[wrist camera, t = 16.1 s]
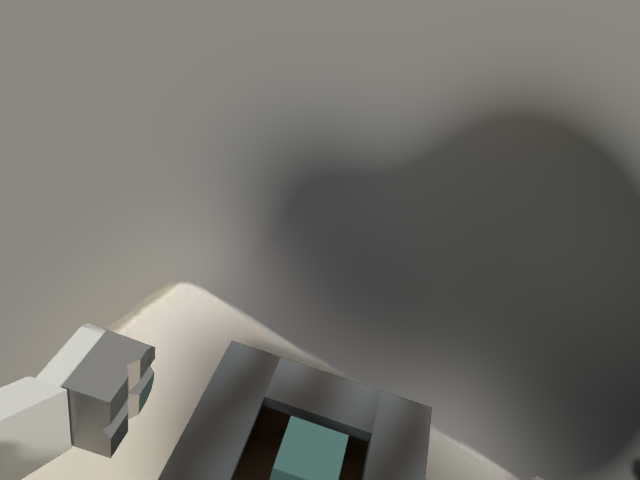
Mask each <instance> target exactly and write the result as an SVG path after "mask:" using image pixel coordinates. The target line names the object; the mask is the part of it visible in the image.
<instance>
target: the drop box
mask: <svg viewBox="0 0 640 480" xmlns="http://www.w3.org/2000/svg"><path fill="white" fill-rule="evenodd" d="M431 410H432V408H431V407H429V406H426V405H423V404H420V403H417V402H414V401H411V400H407V399H405V398H402V397H399V396H396V395H393V394H390V393H387V392H384V391H381V390H378V389H375V388H372V387H369V386H366V385H363V384H360V383H357V382H354V381H351V380H348V379H345V378H342V377H339V376H336V375H333V374H330V373H327V372H324V371H321V370H318V369H315V368H312V367H309V366H306V365H303V364H300V363H298V362H295V361H292V360H289V359H286V358H283V357H280V356H277V355H274V354H271V353H268V352H265V351H262V350H259V349H256V348H253V347H250V346H247V345H244V344H241V343H238V342H235V341H231V343H230V345H229V347H228V349H227V351H226V352H225V354H224V356H223V358H222V360H221V362H220V364H219V366H218V368H217V369H216V371H215V373H214V375H213V377H212V379H211V381H210V383H209V384H208V386H207V388H206V390H205V392H204V394H203V396H202V398H201V400H200V401H199V403H198V405H197V407H196V409H195V411H194V413H193V415H192V417H191V418H190V420H189V422H188V424H187V426H186V428H185V430H184V432H183V433H182V435H181V437H180V439H179V441H178V443H177V445H176V447H175V449H174V450H173V452H172V454H171V456H170V458H169V460H168V462H167V464H166V466H165V467H164V469H163V471H162V473H161V475H160V477H159V479H158V480H270V476H271V473H272V469H273V466H274V463H275V460H276V457H277V454H278V452H279V449H280V446H281V443H282V440H283V437H284V434H285V432H286V429H287V426H288V423H289V420H290V417H291V416H294V417H297V418H300V419H302V420H305V421H308V422H311V423H314V424H317V425H320V426H323V427H326V428H329V429H332V430H335V431H338V432H340V433H343V434H346V435H349V437H348V441H347V445H346V449H345V454H344V458H343V462H342V466H341V471H340V475H339V479H338V480H425V475H426V464H427V454H428V443H429V432H430V422H431Z"/></svg>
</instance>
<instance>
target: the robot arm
mask: <svg viewBox="0 0 640 480" xmlns="http://www.w3.org/2000/svg"><path fill="white" fill-rule="evenodd" d="M154 359H155V347H153V346H150V345H147V344H145V343H142V342H139V341H136V340H134V339H131V338H128V337H126V336H123V335H120V334H118V333H115V332H112V331H109V330H107V329H104V328H101V327H98V326H95V325H92V324H89V323H87V324H85V325H83V326H82V327H80V328H79V329H78V330H77V331H76V332H75V334H74V335H73V336H72V337H71V338H70V339H69V340H68V342H67V343H66V344H65V345H64V346H63V347H62V348H61V350H60V351H59V352H58V353H57V354H56V355H55V356H54V358H53V359H52V360H51V361H50V362H49V363H48V364H47V365H46V366H45V368H44V369H43V370H42V371H41V372H40V373H39V374H38V376H37V377H36V378H33V377H30V376H27V377H25V378H23V379H21V380H18V381H15V382H13V383H10V384H8V385H6V386H3V387H1V388H0V480H21V479H22V478H24V477H26V476H27V475H29V474H31V473H32V472H34V471H35V470H37V469H39V468H40V467H42V466H43V465H45V464H47V463H48V462H50V461H52V460H53V459H55V458H56V457H58V456H60V455H61V454H63V453H64V452H66V451H68V450H69V449H71V448H72V446H75V447H78V448H81V449H84V450H87V451H90V452H93V453H97V454H100V455H103V456H106V457H109V458H111V457H112V455H113V454H114V452H115V451H116V449H117V448H118V446H119V444H120V443H121V441H122V440H123V438H124V437H125V435H126V433H127V432H128V419H130V418H132V417H134V416H136V415H138V414H139V413H140V411H141V409H142V408H143V406H144V404H145V403H146V400H147V398H148V396H149V393H150V391H151V388H152V384H153V380H154V371H153V370H152V368H151V367H150V365H151V363H152V362H153V360H154ZM530 480H548V479H545V478H542V477H539V476H536V477H533V478H531V479H530Z"/></svg>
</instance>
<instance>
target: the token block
mask: <svg viewBox="0 0 640 480" xmlns="http://www.w3.org/2000/svg"><path fill="white" fill-rule="evenodd" d="M348 437H349V435H346V434H343V433H340V432H338V431H335V430H332V429H329V428H326V427H323V426H320V425H317V424H314V423H311V422H308V421H305V420H302V419H300V418H297V417H294V416H291V417H290V420H289V423H288V426H287V429H286V432H285V434H284V437H283V440H282V443H281V446H280V449H279V452H278V454H277V457H276V460H275V463H274V466H273V469H272V473H271V476H270V480H338V479H339V475H340V471H341V466H342V462H343V458H344V454H345V449H346V445H347V441H348Z"/></svg>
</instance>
